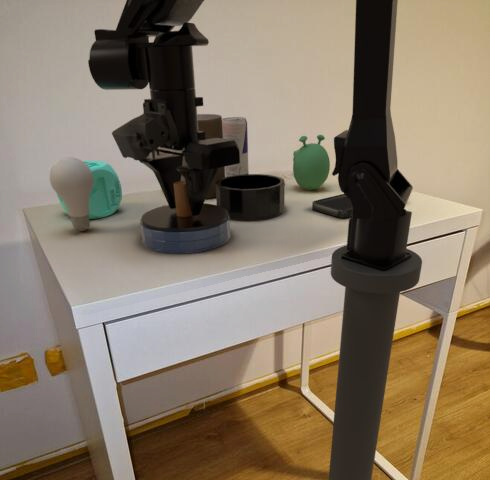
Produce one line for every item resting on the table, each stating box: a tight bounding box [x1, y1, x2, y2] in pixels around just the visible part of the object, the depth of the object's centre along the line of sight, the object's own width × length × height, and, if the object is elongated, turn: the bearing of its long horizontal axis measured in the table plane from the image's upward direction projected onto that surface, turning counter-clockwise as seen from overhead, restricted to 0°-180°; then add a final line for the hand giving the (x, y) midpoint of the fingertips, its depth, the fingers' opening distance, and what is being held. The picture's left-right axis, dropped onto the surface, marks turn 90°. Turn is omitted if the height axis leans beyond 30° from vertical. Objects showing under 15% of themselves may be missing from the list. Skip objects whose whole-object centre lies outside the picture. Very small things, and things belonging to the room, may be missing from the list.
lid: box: [140, 181, 228, 232], centre depth 66 cm, size 12×12×6 cm
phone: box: [311, 193, 353, 219], centre depth 80 cm, size 8×1×15 cm
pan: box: [139, 214, 232, 255], centre depth 68 cm, size 13×13×3 cm
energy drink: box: [222, 116, 250, 177], centre depth 98 cm, size 5×5×12 cm
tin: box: [215, 173, 286, 222], centre depth 79 cm, size 11×11×5 cm
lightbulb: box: [49, 156, 94, 232], centre depth 70 cm, size 6×6×11 cm
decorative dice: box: [56, 160, 123, 220], centre depth 79 cm, size 8×8×8 cm
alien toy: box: [292, 134, 331, 191], centre depth 89 cm, size 7×8×10 cm
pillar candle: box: [173, 113, 225, 199], centre depth 87 cm, size 10×10×15 cm
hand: (184, 211), depth 67 cm, fingers open, 5 cm apart
